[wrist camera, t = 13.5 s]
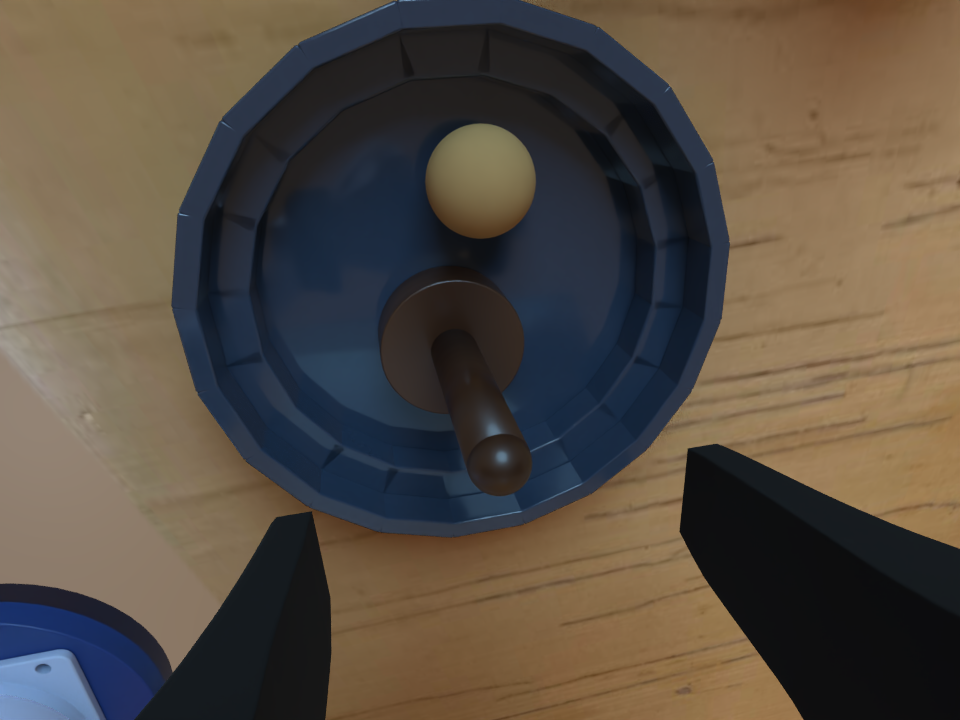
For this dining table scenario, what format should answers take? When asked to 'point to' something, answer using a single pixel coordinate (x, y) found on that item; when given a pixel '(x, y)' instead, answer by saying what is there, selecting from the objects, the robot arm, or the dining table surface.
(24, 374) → the dining table surface
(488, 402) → the joystick
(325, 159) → the serving tray
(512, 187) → the ball
